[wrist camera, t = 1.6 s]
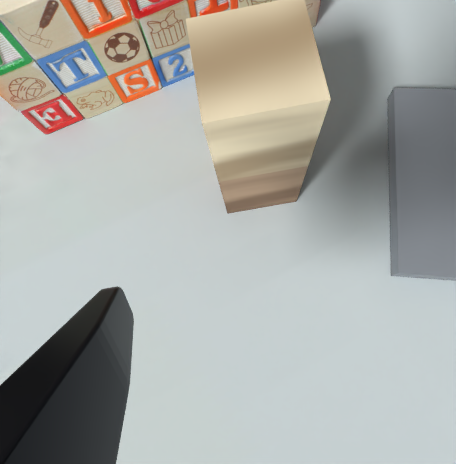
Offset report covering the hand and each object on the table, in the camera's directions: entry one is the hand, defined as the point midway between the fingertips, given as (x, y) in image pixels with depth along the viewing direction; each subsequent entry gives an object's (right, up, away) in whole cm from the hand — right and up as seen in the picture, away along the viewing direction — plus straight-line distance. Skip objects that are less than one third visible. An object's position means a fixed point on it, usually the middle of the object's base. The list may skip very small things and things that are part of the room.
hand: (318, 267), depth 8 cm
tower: (0, +5, +15) cm, 16 cm away
